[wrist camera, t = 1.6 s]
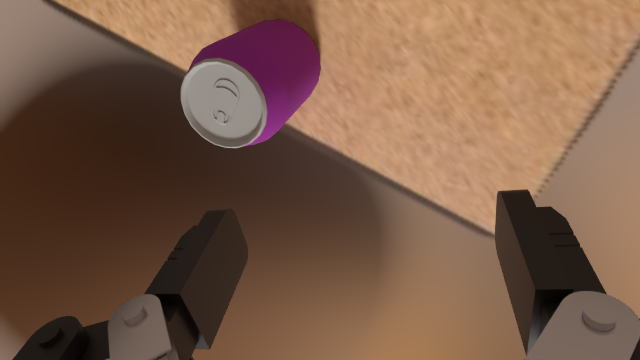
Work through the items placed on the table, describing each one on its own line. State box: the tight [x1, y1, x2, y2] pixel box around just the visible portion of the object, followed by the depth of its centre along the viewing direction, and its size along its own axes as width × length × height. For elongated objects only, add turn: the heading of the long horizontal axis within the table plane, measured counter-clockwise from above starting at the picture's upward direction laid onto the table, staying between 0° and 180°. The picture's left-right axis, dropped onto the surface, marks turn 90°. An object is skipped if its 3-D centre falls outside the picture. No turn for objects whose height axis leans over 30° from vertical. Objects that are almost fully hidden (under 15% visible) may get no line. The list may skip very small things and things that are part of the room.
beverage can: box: [181, 19, 321, 148], centre depth 32 cm, size 8×8×12 cm
